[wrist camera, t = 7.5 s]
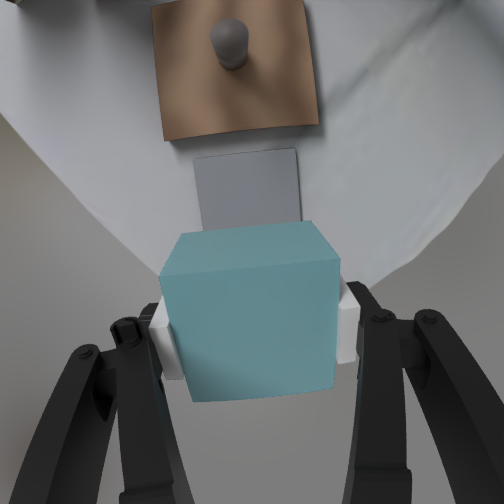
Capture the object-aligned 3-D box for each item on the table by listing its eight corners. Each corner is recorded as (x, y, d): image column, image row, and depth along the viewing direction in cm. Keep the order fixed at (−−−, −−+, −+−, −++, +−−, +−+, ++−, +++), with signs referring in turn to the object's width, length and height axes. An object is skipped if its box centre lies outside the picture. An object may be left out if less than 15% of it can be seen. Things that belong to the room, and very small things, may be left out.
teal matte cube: (310, 220, 16) (340, 258, 11) (312, 341, 18) (332, 402, 14) (181, 233, 16) (158, 276, 11) (205, 352, 18) (197, 415, 14)
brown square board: (297, -5, 26) (315, -44, 17) (314, 124, 32) (341, 122, 23) (155, 12, 27) (127, -22, 17) (168, 140, 33) (140, 145, 23)
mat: (294, 148, 33) (295, 148, 33) (301, 242, 37) (302, 244, 37) (193, 159, 33) (192, 159, 33) (207, 252, 37) (207, 254, 37)
